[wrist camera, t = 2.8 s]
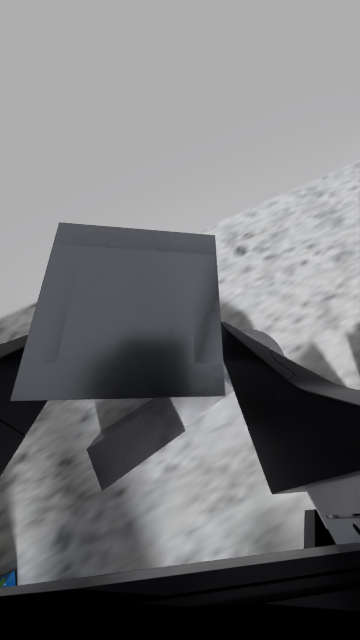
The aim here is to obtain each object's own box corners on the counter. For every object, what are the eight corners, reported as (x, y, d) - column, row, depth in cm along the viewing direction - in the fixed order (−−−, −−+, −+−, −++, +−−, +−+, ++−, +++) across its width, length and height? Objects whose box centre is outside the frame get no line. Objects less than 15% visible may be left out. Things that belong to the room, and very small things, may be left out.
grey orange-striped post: (180, 360, 16) (227, 398, 3) (138, 359, 16) (6, 403, 3) (181, 319, 17) (216, 234, 4) (141, 318, 17) (57, 221, 4)
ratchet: (121, 484, 13) (87, 581, 7) (94, 415, 14) (47, 456, 8) (276, 370, 17) (327, 380, 11) (245, 324, 18) (278, 312, 12)
